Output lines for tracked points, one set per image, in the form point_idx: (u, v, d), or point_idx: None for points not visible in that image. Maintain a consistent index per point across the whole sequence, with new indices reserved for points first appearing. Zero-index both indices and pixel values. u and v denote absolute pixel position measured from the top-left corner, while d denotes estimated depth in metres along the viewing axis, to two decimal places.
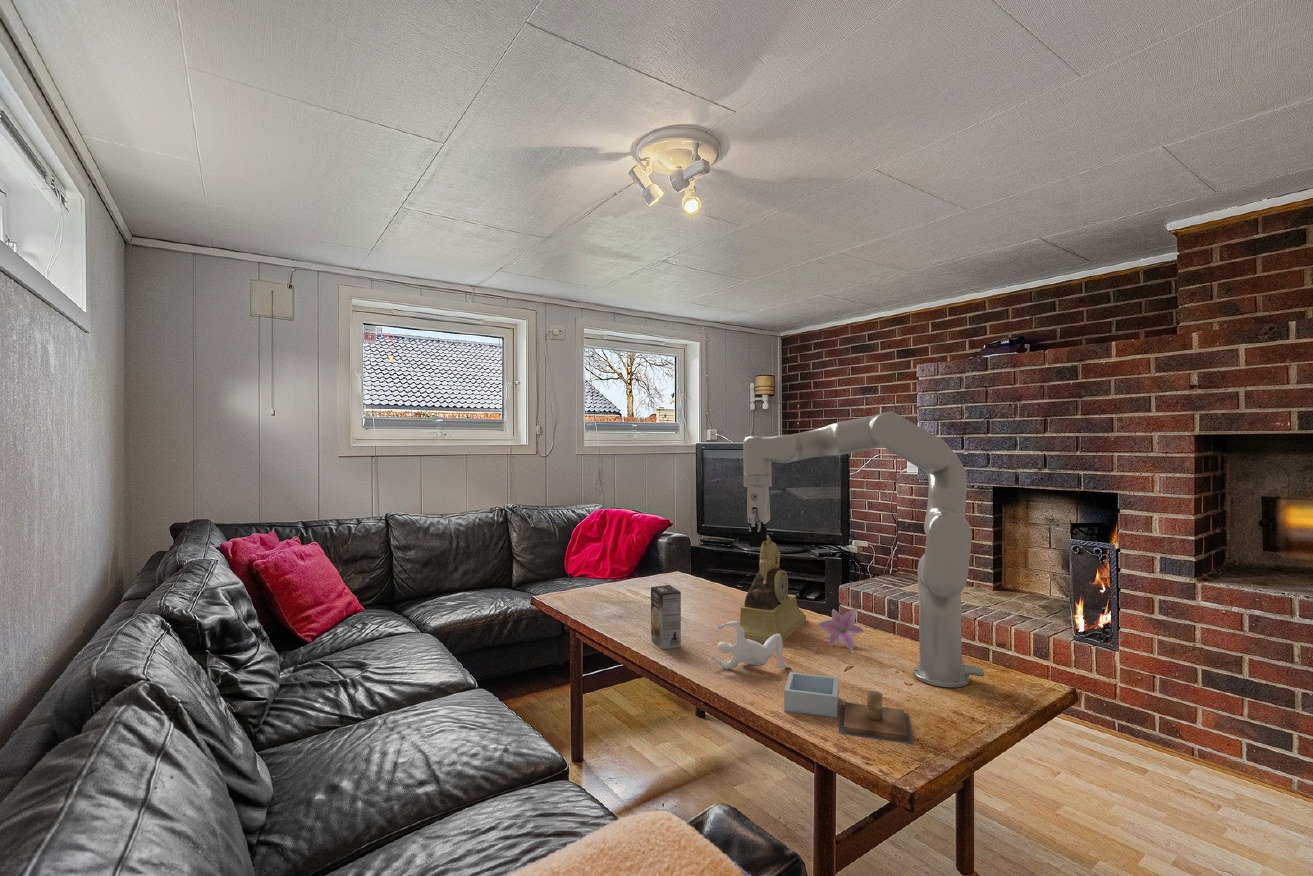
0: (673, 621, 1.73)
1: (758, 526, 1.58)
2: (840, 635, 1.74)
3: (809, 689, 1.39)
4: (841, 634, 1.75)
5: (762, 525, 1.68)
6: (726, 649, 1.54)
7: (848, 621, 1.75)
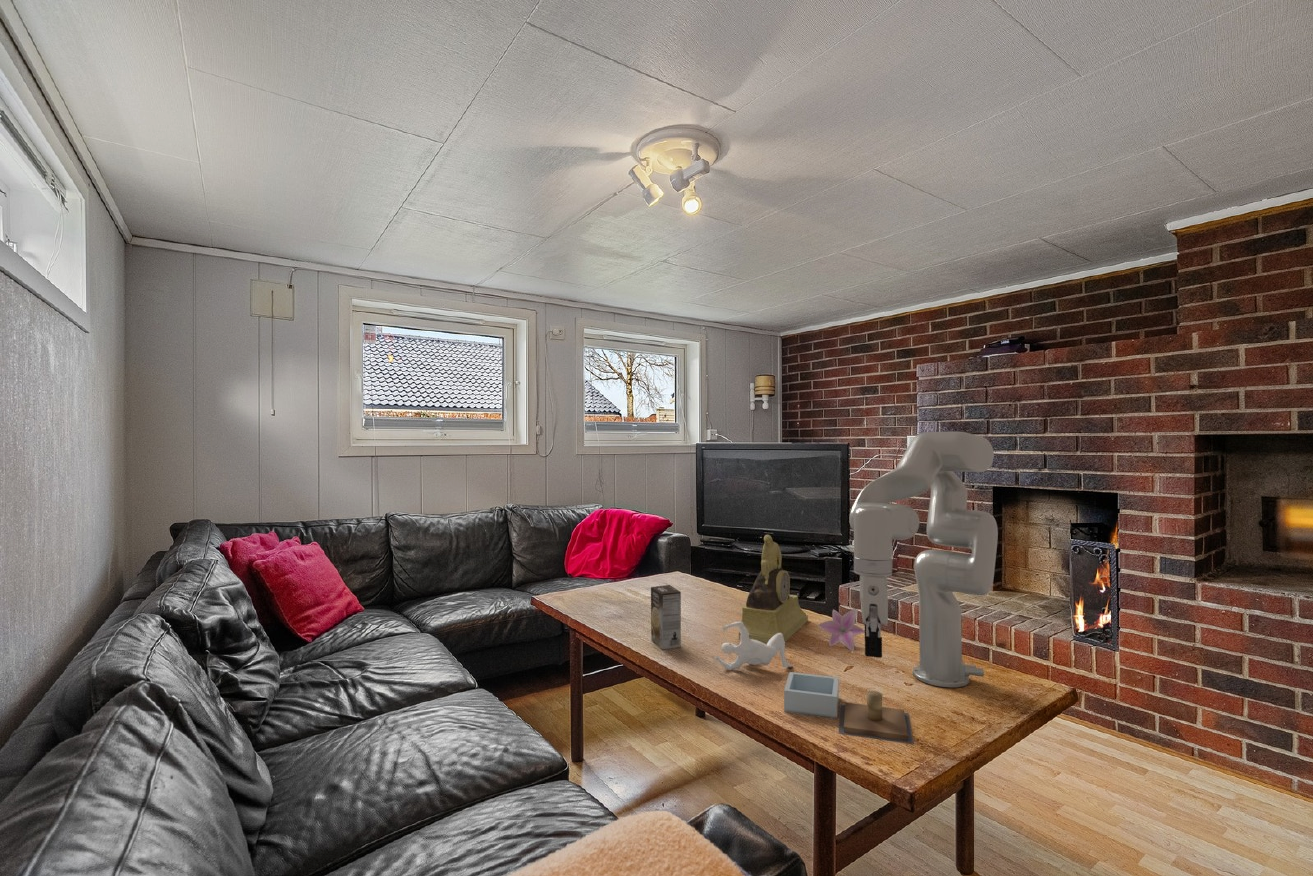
0: (673, 621, 1.73)
1: (879, 630, 1.19)
2: (841, 635, 1.74)
3: (809, 689, 1.39)
4: (842, 634, 1.74)
5: None
6: (731, 650, 1.53)
7: (848, 621, 1.75)
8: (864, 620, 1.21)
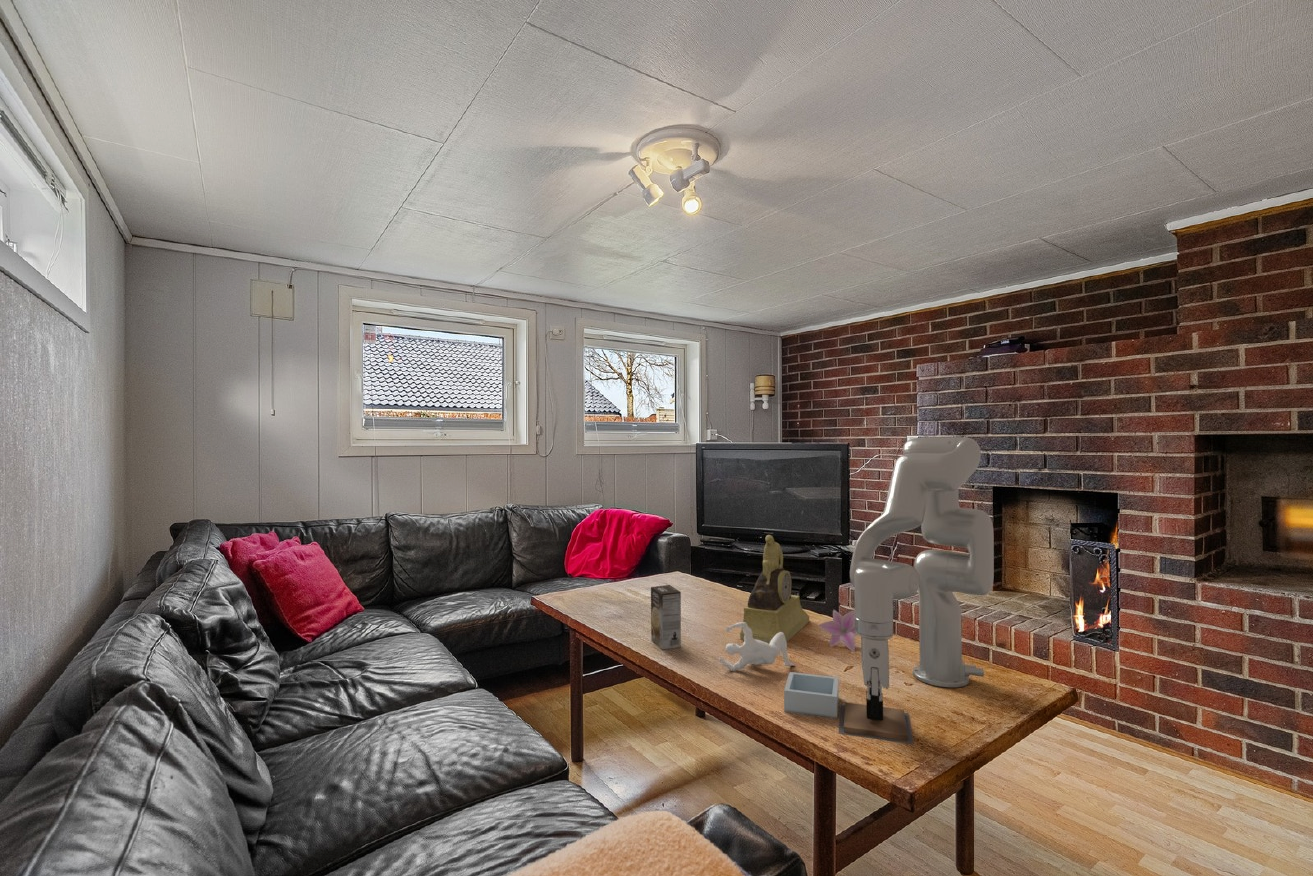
0: (673, 621, 1.73)
1: (880, 696, 1.22)
2: (841, 636, 1.74)
3: (809, 689, 1.39)
4: (842, 635, 1.74)
5: None
6: (735, 651, 1.53)
7: (849, 622, 1.74)
8: (865, 683, 1.21)
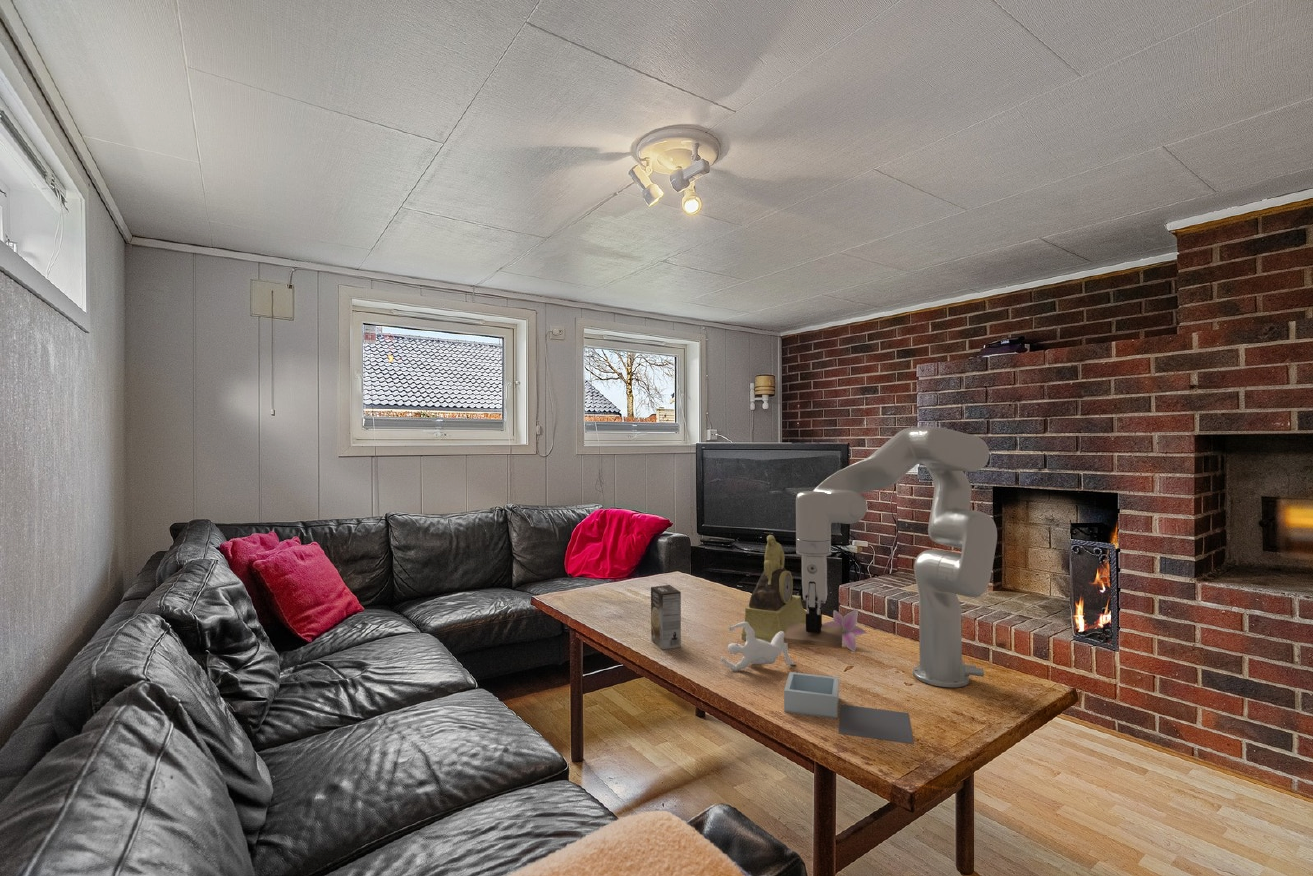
0: (673, 621, 1.73)
1: (817, 609, 1.30)
2: (842, 636, 1.73)
3: (809, 689, 1.39)
4: (843, 635, 1.74)
5: (816, 605, 1.35)
6: (738, 650, 1.53)
7: (850, 622, 1.74)
8: (804, 597, 1.30)
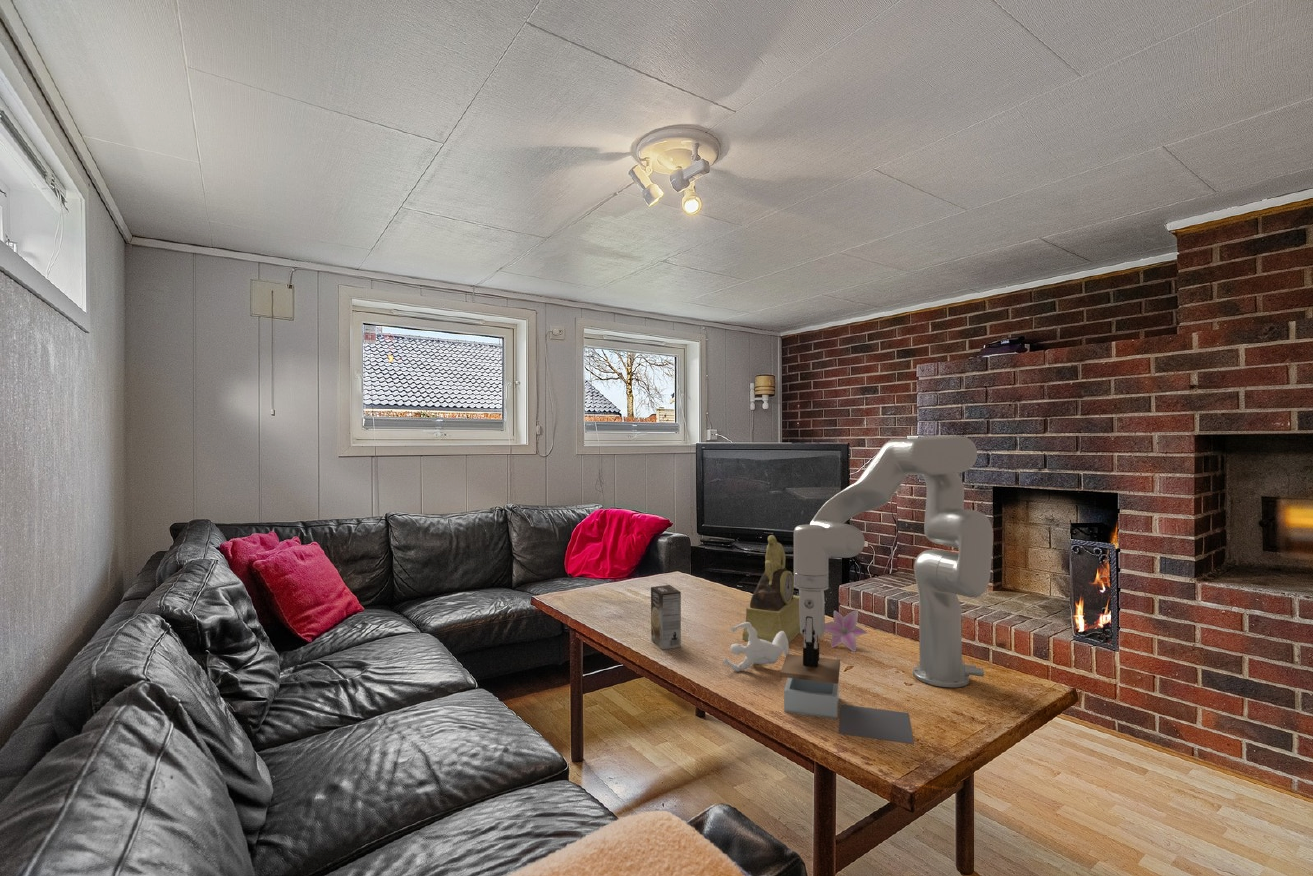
0: (673, 621, 1.73)
1: (814, 644, 1.31)
2: (842, 636, 1.73)
3: (809, 689, 1.39)
4: (843, 636, 1.73)
5: (814, 639, 1.35)
6: (740, 651, 1.53)
7: (850, 622, 1.74)
8: (801, 631, 1.30)
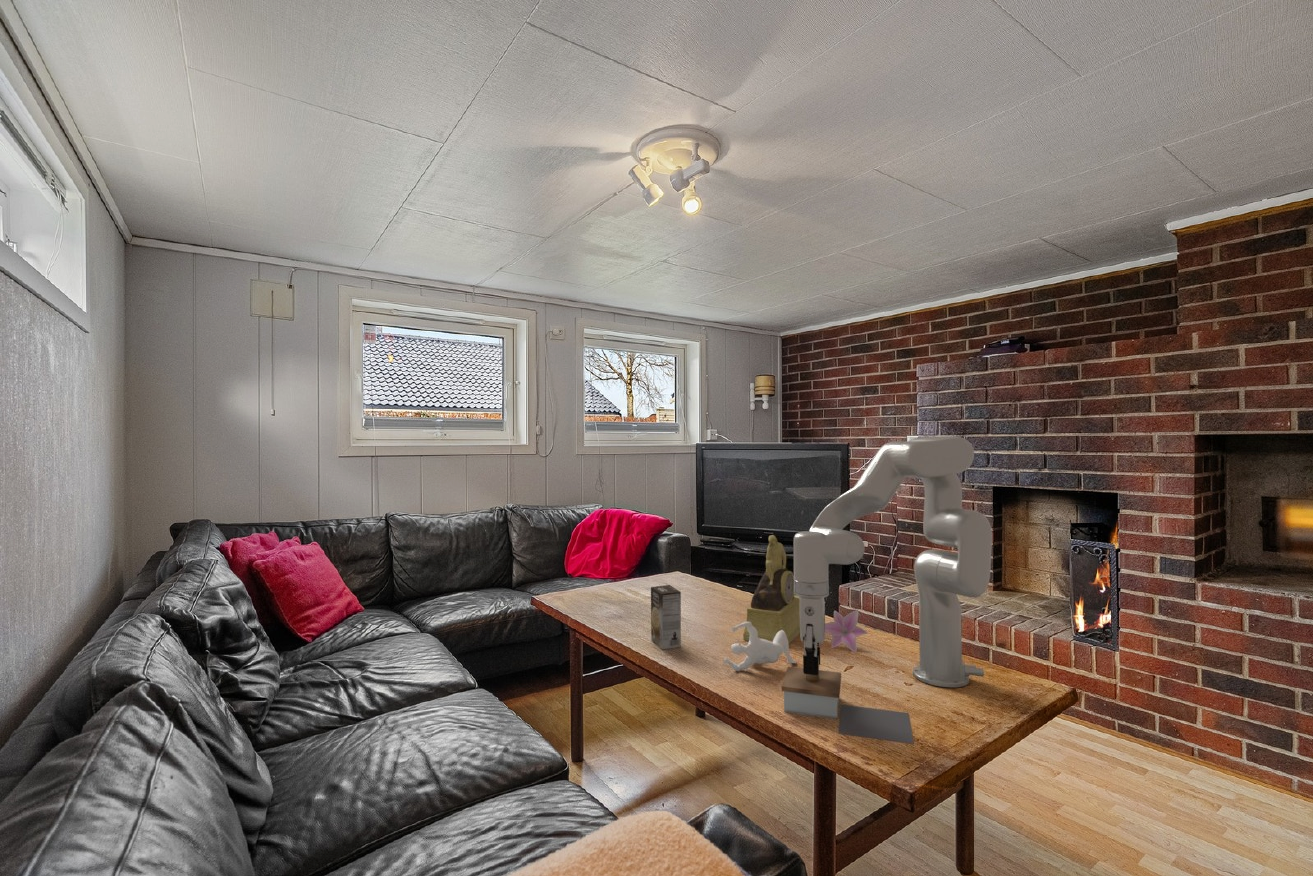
0: (673, 621, 1.73)
1: (815, 651, 1.30)
2: (842, 637, 1.73)
3: None
4: (843, 636, 1.73)
5: None
6: (741, 650, 1.53)
7: (850, 622, 1.74)
8: (801, 639, 1.30)
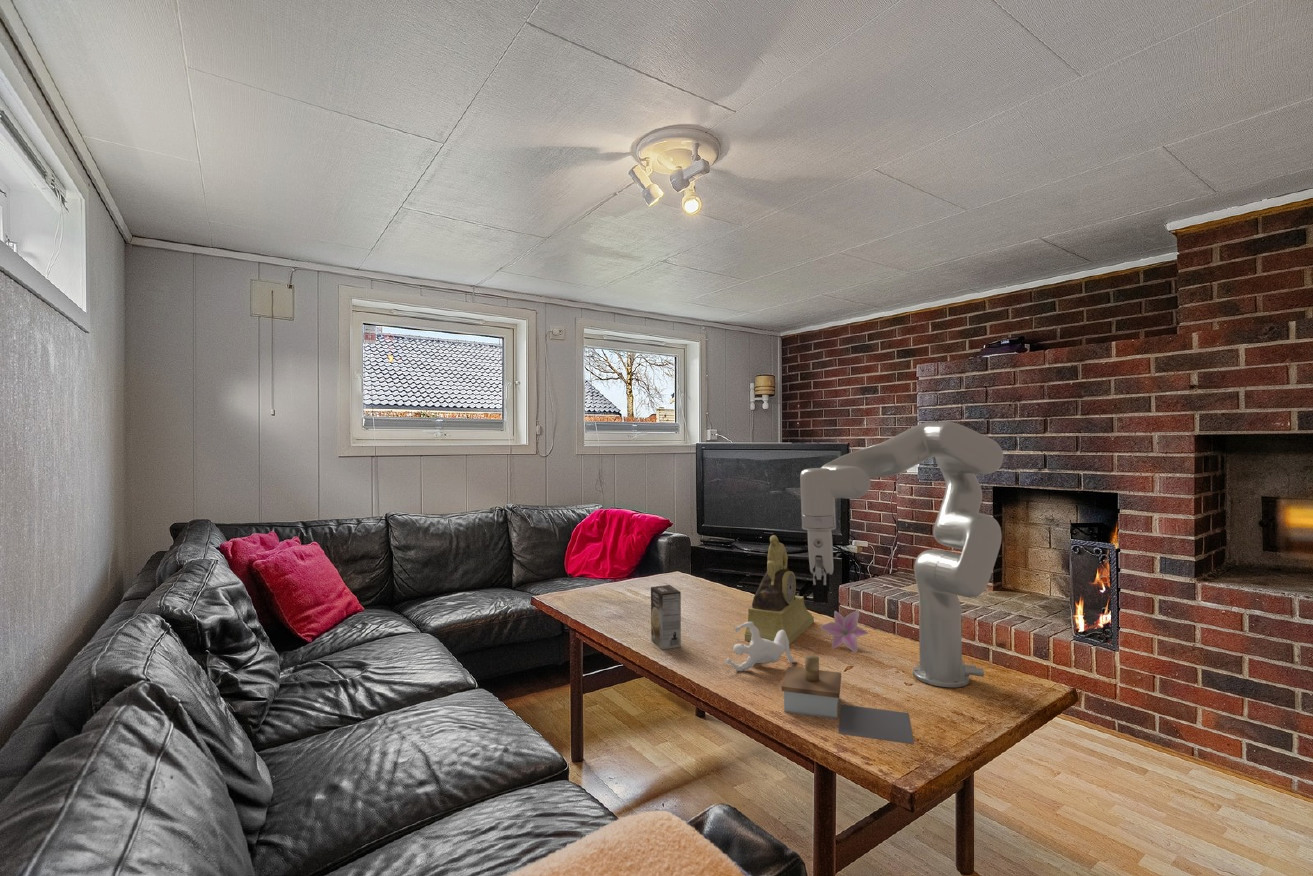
0: (673, 621, 1.73)
1: (824, 578, 1.32)
2: (843, 637, 1.73)
3: None
4: (844, 636, 1.73)
5: None
6: (744, 651, 1.53)
7: (851, 623, 1.73)
8: (811, 570, 1.34)
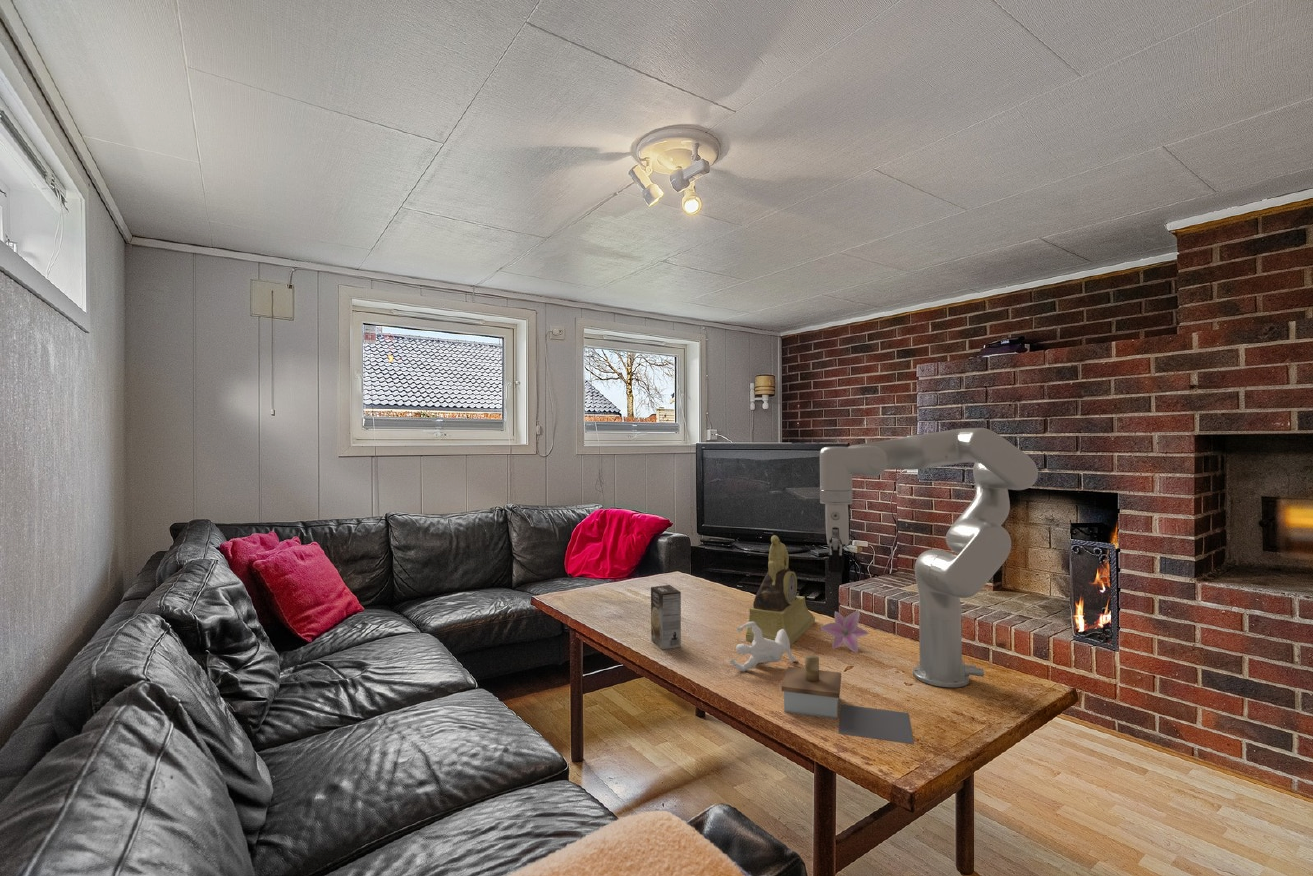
0: (673, 621, 1.73)
1: (840, 549, 1.40)
2: (844, 637, 1.72)
3: None
4: (844, 637, 1.72)
5: None
6: (747, 651, 1.53)
7: (851, 623, 1.73)
8: (828, 541, 1.42)
